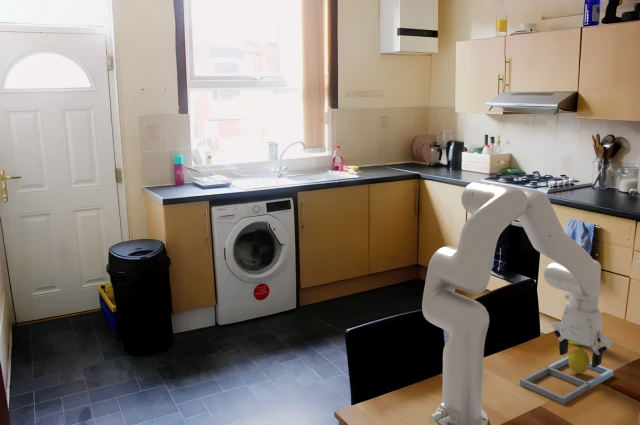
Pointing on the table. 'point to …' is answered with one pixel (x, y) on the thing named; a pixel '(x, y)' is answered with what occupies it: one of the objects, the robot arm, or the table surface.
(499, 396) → the table surface
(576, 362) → the lemon
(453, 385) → the robot arm
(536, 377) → the grey divided frame
